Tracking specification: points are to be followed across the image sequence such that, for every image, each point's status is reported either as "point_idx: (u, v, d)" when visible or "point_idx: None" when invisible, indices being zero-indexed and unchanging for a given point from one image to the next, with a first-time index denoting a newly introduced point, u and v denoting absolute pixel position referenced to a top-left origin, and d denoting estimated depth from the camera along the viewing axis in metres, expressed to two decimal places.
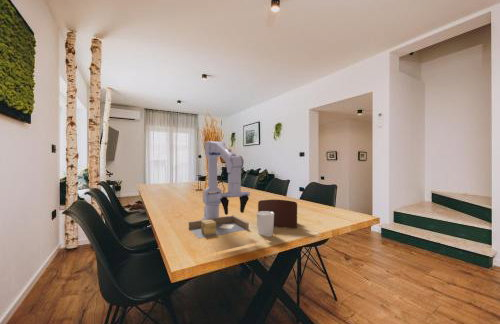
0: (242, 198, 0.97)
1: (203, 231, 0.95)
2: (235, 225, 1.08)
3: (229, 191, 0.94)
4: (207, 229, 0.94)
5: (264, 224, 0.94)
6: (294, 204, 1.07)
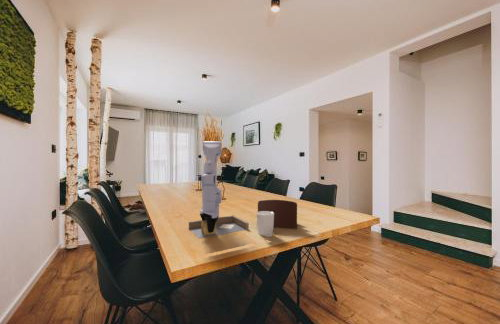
0: None
1: (203, 231, 0.95)
2: (235, 225, 1.08)
3: None
4: (207, 229, 0.94)
5: (264, 225, 0.94)
6: (294, 204, 1.07)
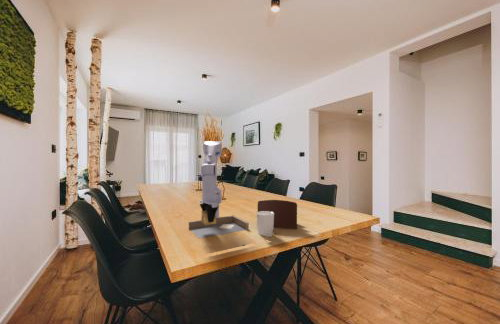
0: None
1: (203, 221, 0.95)
2: (235, 225, 1.08)
3: None
4: (207, 219, 0.94)
5: (264, 224, 0.94)
6: (294, 204, 1.06)
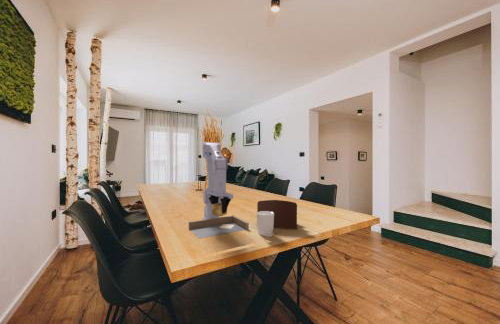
0: None
1: (216, 213, 1.00)
2: (235, 225, 1.08)
3: None
4: (221, 211, 1.00)
5: (264, 224, 0.94)
6: (294, 204, 1.06)
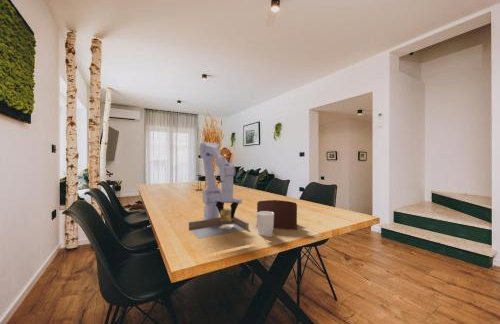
0: None
1: (225, 219, 1.03)
2: (235, 225, 1.08)
3: None
4: None
5: (264, 224, 0.94)
6: (294, 204, 1.06)
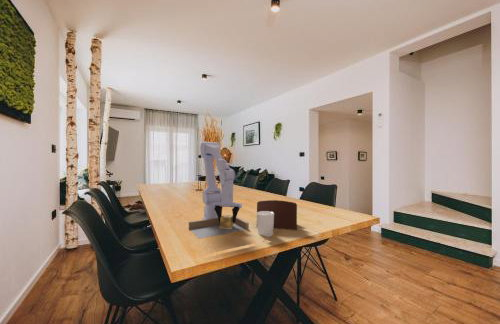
0: None
1: (225, 225, 1.04)
2: (235, 225, 1.08)
3: None
4: (230, 222, 1.04)
5: (264, 224, 0.94)
6: (294, 204, 1.05)
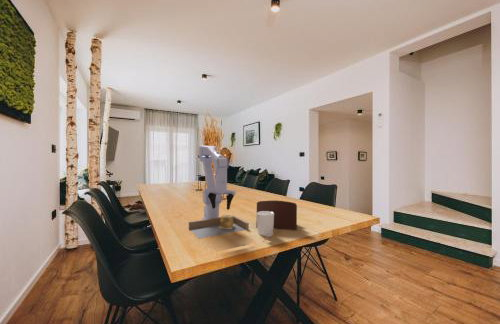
0: None
1: (225, 225, 1.04)
2: (235, 225, 1.08)
3: None
4: (230, 222, 1.04)
5: (264, 224, 0.94)
6: (294, 205, 1.05)
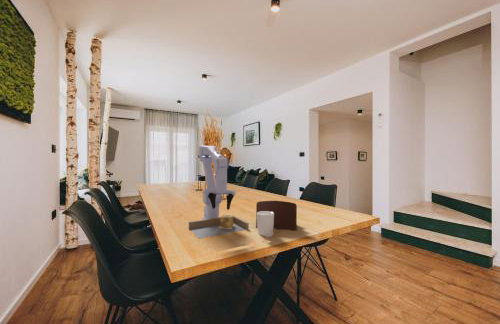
0: None
1: (225, 225, 1.04)
2: (235, 225, 1.08)
3: None
4: (230, 222, 1.04)
5: (264, 224, 0.94)
6: (293, 205, 1.04)
